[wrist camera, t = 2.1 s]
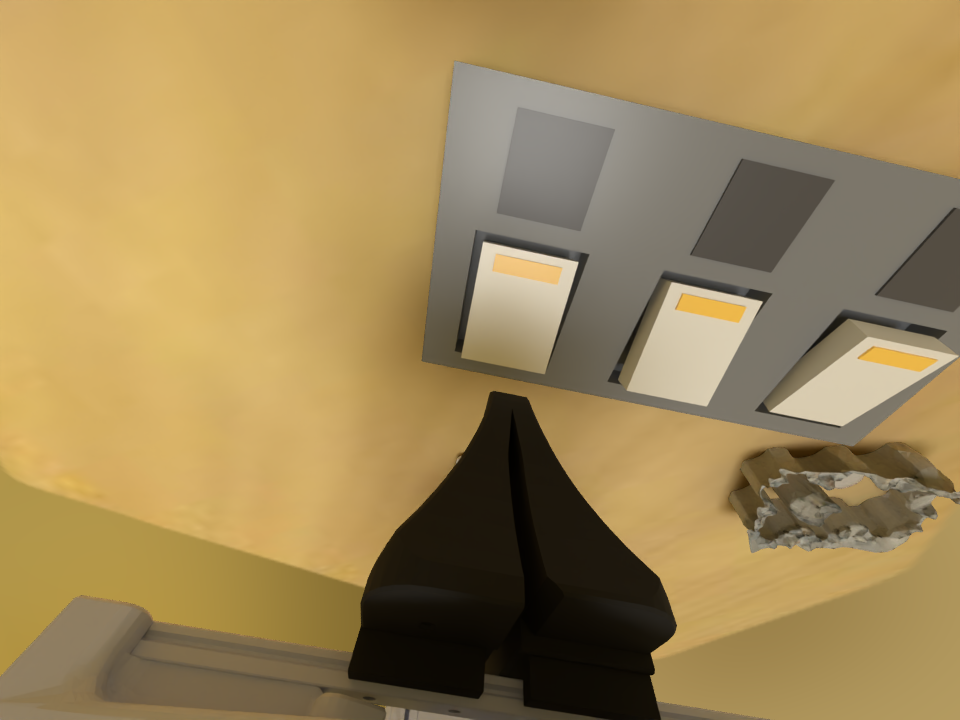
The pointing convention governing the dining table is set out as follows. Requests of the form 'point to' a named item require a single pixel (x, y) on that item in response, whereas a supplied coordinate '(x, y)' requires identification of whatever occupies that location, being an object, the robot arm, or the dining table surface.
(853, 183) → the grey rocker switch panel
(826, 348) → the rocker carton end
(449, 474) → the robot arm
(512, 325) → the labelled cream tile
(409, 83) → the dining table surface
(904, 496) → the egg carton
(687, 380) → the rocker middle
